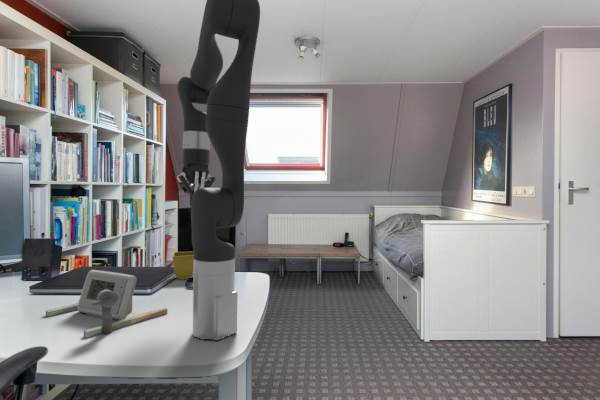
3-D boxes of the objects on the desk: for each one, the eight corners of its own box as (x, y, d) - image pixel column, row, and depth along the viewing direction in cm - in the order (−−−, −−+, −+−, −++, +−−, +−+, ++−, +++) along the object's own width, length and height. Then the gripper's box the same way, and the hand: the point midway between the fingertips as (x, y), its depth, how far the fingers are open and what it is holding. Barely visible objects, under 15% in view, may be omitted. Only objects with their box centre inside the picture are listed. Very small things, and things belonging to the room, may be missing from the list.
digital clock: (73, 312, 95) (73, 271, 95) (107, 303, 103) (108, 266, 103) (108, 326, 87) (109, 281, 86) (143, 315, 94) (143, 274, 94)
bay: (172, 315, 95) (172, 278, 94) (91, 340, 78) (92, 296, 78) (122, 297, 109) (123, 265, 108) (45, 315, 92) (45, 277, 92)
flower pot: (172, 275, 136) (173, 251, 135) (197, 274, 138) (197, 251, 138) (172, 281, 127) (172, 256, 127) (198, 280, 130) (198, 255, 130)
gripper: (185, 145, 98) (184, 210, 98) (222, 150, 108) (221, 208, 109) (168, 146, 102) (167, 208, 103) (205, 151, 113) (205, 207, 113)
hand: (195, 208), depth 106 cm, fingers closed
